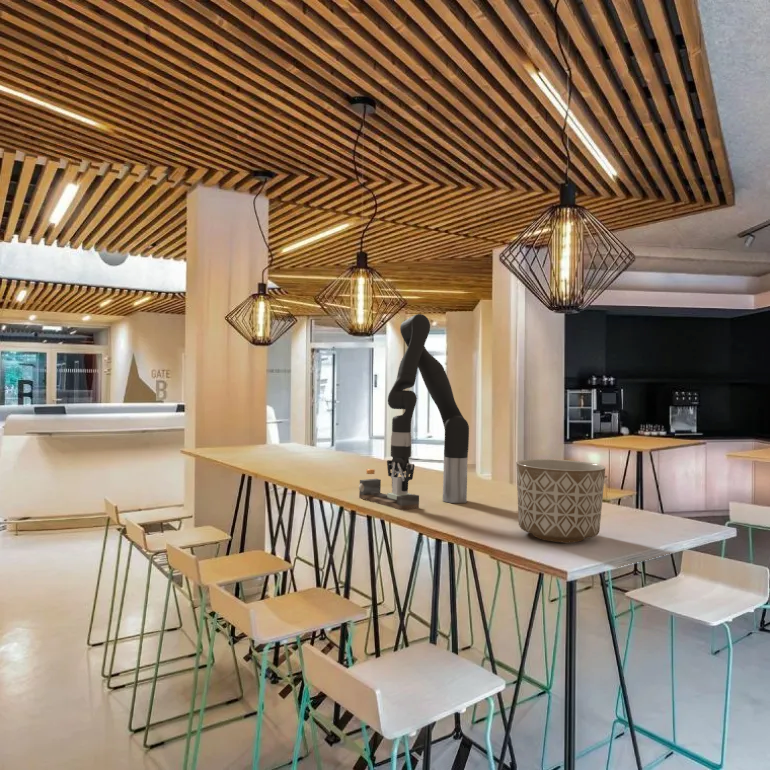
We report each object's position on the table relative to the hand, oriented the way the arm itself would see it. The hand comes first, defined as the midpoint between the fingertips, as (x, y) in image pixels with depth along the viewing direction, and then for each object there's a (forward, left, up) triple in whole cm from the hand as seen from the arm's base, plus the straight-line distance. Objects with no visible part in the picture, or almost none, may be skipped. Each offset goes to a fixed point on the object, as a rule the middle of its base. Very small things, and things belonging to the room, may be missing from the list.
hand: (399, 489), depth 231 cm
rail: (+5, -5, -6) cm, 9 cm away
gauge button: (+13, -13, +4) cm, 19 cm away
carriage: (0, 0, -3) cm, 3 cm away
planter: (-53, +34, -6) cm, 63 cm away
